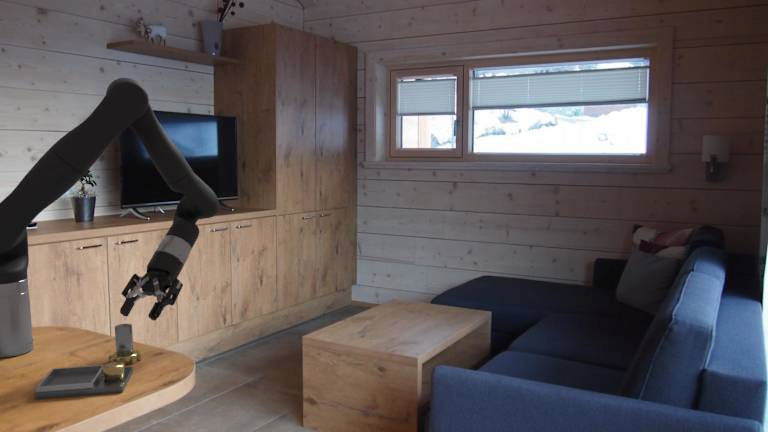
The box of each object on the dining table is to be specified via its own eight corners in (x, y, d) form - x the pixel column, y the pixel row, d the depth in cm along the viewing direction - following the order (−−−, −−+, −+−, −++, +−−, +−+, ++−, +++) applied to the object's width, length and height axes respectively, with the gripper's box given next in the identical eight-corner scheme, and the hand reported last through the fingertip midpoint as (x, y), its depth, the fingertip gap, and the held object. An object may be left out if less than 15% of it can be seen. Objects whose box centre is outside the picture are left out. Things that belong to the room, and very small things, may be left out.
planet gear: (106, 366, 143) (104, 331, 142) (113, 356, 149) (110, 322, 148) (138, 364, 144) (136, 329, 143) (143, 354, 151) (141, 320, 150)
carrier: (35, 399, 126) (33, 380, 125) (52, 378, 137) (51, 361, 136) (122, 392, 129) (121, 374, 128) (133, 372, 140) (131, 355, 139)
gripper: (138, 247, 158) (104, 305, 150) (184, 251, 153) (152, 311, 144) (155, 265, 164) (123, 321, 155) (200, 269, 158) (170, 328, 149)
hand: (137, 316), depth 149 cm, fingers open, 8 cm apart
